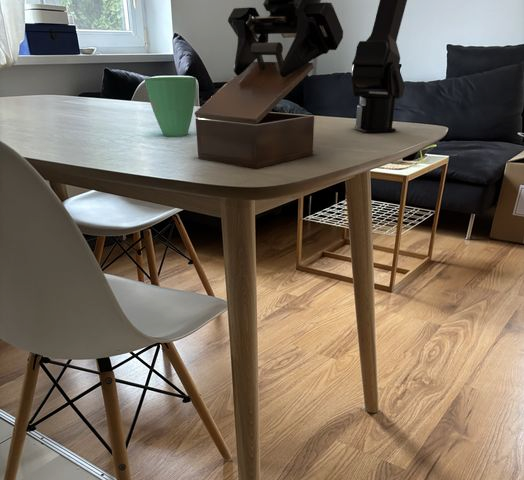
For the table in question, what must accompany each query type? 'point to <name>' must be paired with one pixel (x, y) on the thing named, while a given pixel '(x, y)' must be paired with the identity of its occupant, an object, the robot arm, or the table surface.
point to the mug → (172, 103)
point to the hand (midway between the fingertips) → (257, 74)
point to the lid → (253, 89)
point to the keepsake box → (256, 140)
